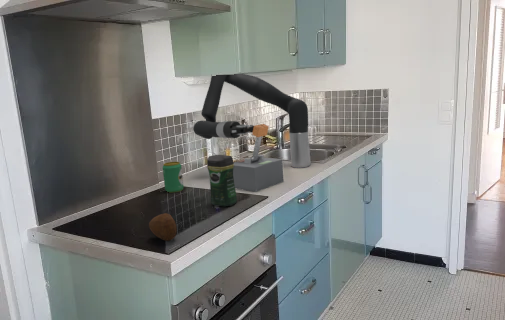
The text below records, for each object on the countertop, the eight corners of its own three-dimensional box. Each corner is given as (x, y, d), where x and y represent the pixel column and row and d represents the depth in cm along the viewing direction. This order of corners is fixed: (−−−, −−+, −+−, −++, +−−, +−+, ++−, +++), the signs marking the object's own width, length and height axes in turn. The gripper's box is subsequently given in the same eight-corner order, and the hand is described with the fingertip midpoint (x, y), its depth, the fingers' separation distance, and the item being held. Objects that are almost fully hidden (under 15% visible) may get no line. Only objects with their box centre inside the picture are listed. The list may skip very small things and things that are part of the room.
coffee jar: (240, 202, 158) (236, 153, 154) (226, 208, 152) (222, 158, 148) (221, 199, 164) (217, 152, 160) (207, 205, 158) (202, 156, 154)
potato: (166, 246, 121) (163, 220, 120) (145, 239, 127) (142, 214, 126) (185, 237, 127) (183, 212, 125) (165, 231, 133) (162, 207, 131)
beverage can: (181, 192, 179) (178, 164, 176) (163, 193, 179) (159, 165, 177) (185, 187, 187) (182, 160, 184) (168, 188, 187) (164, 162, 185)
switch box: (256, 177, 195) (254, 151, 192) (283, 181, 184) (281, 154, 181) (228, 187, 182) (226, 159, 179) (256, 191, 171) (253, 162, 169)
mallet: (256, 158, 184) (263, 123, 177) (261, 161, 182) (268, 126, 176) (246, 161, 180) (254, 125, 173) (251, 164, 178) (259, 128, 171)
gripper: (216, 123, 183) (245, 122, 171) (238, 119, 192) (266, 118, 180) (218, 140, 184) (247, 140, 172) (239, 135, 193) (268, 136, 181)
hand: (257, 129), depth 176 cm, fingers closed
